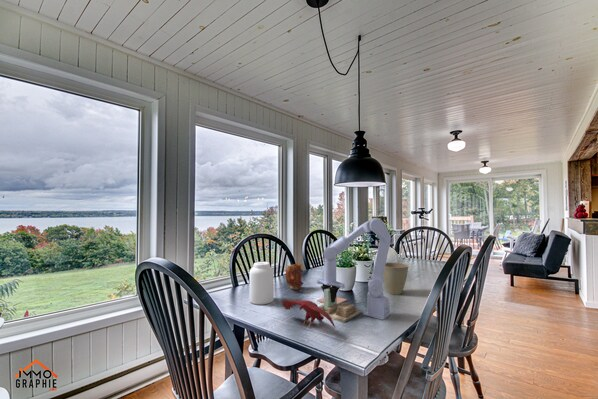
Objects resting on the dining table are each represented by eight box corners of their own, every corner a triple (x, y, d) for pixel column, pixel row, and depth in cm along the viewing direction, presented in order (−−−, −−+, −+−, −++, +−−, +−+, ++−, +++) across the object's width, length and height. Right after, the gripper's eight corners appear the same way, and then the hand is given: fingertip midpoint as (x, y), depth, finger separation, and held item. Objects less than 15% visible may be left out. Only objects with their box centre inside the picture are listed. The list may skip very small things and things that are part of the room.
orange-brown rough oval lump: (294, 285, 183) (294, 261, 183) (305, 287, 179) (305, 262, 179) (280, 291, 170) (280, 265, 171) (292, 294, 166) (292, 267, 166)
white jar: (244, 302, 152) (244, 263, 152) (258, 296, 163) (258, 259, 163) (264, 306, 146) (264, 266, 146) (278, 299, 157) (278, 261, 157)
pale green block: (336, 306, 141) (336, 287, 141) (328, 310, 135) (328, 290, 136) (332, 305, 142) (332, 286, 143) (324, 309, 137) (323, 289, 137)
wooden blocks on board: (360, 313, 136) (360, 306, 136) (344, 322, 126) (344, 315, 126) (331, 305, 147) (331, 299, 147) (314, 313, 136) (314, 306, 136)
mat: (346, 300, 154) (346, 299, 154) (334, 306, 146) (334, 304, 146) (329, 296, 162) (329, 295, 162) (317, 301, 153) (317, 300, 153)
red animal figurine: (290, 324, 134) (272, 305, 127) (300, 307, 139) (284, 287, 132) (339, 345, 114) (322, 324, 107) (349, 324, 119) (334, 302, 112)
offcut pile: (355, 312, 135) (355, 304, 135) (345, 317, 128) (345, 309, 128) (346, 309, 138) (346, 302, 138) (335, 315, 132) (335, 307, 132)
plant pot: (412, 296, 160) (412, 267, 161) (385, 296, 161) (384, 267, 161) (403, 289, 175) (403, 262, 176) (378, 289, 176) (378, 262, 176)
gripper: (312, 271, 141) (313, 300, 141) (338, 276, 131) (338, 306, 131) (321, 269, 146) (321, 296, 146) (346, 273, 137) (347, 302, 137)
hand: (330, 301), depth 139 cm, fingers closed on pale green block, 2 cm apart
